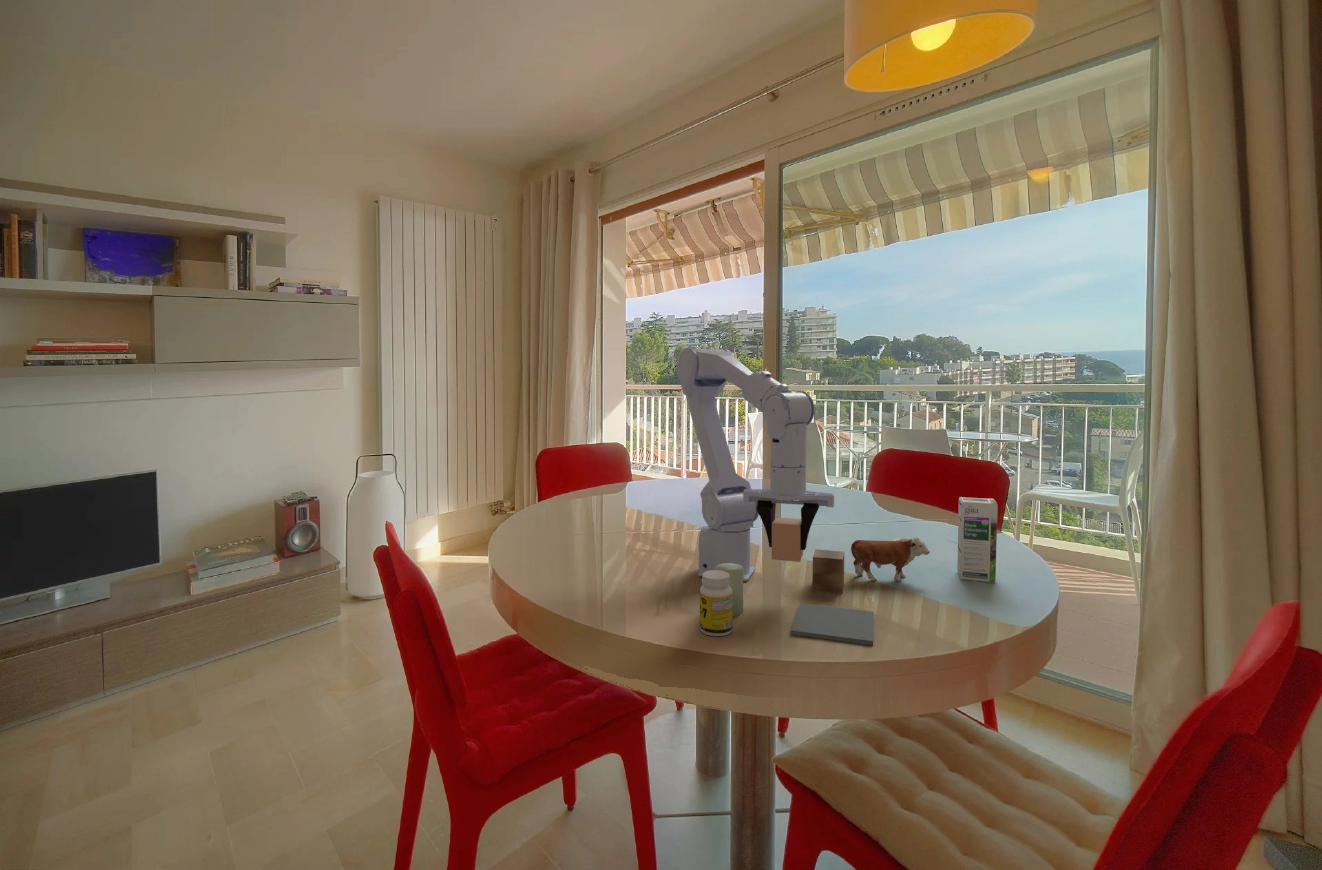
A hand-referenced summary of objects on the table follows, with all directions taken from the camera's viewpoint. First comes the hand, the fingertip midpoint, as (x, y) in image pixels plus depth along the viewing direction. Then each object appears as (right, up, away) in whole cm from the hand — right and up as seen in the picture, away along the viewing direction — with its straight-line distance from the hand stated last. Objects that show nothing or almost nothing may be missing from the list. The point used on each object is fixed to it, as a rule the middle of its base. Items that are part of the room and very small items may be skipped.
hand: (787, 547), depth 97 cm
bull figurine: (+21, -8, +10) cm, 24 cm away
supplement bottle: (-13, -10, -11) cm, 20 cm away
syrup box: (+37, -8, +11) cm, 39 cm away
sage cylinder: (-10, -9, -4) cm, 14 cm away
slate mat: (+5, -10, -10) cm, 15 cm away
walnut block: (+8, -8, +6) cm, 13 cm away
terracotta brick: (0, -2, 0) cm, 2 cm away
